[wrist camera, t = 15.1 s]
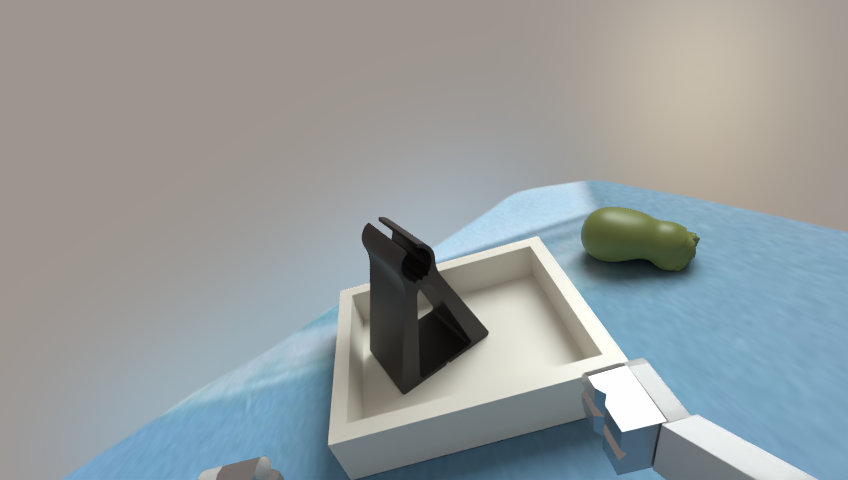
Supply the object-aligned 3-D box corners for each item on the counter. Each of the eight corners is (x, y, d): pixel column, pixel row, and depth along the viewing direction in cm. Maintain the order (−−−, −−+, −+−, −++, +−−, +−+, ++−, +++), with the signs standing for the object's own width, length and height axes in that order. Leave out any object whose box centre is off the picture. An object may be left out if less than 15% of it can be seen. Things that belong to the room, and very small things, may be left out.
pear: (589, 193, 41) (703, 209, 37) (581, 235, 44) (686, 254, 40) (581, 222, 37) (708, 244, 33) (573, 265, 40) (688, 290, 36)
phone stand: (450, 302, 39) (420, 195, 33) (489, 334, 35) (464, 218, 28) (370, 352, 36) (321, 246, 30) (402, 396, 32) (352, 280, 25)
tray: (351, 480, 28) (327, 445, 26) (355, 323, 42) (340, 290, 39) (628, 406, 28) (630, 363, 25) (541, 271, 41) (537, 236, 39)
